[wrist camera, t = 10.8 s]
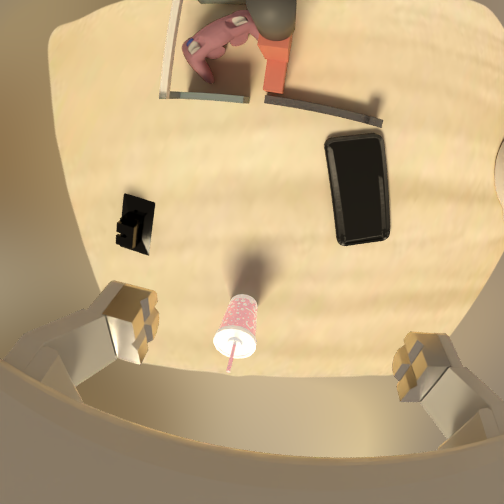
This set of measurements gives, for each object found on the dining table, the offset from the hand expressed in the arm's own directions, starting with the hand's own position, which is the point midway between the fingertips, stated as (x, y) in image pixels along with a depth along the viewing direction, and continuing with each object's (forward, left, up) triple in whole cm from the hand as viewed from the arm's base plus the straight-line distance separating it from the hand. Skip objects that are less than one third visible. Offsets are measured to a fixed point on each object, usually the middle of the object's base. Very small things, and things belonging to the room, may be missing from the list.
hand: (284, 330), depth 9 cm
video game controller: (+9, -13, -32) cm, 35 cm away
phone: (-10, +3, -32) cm, 33 cm away
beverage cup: (+3, +25, -31) cm, 40 cm away
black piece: (+21, +14, -32) cm, 41 cm away
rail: (-3, -6, -31) cm, 32 cm away
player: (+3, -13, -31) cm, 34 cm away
